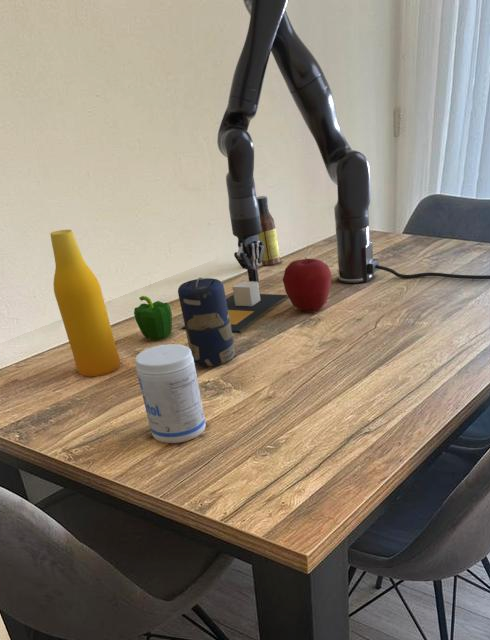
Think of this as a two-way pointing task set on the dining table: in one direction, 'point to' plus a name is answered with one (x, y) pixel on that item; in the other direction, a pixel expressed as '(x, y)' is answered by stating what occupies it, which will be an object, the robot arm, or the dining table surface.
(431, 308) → the dining table surface
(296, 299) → the apple
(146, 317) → the bell pepper
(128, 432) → the dining table surface
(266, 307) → the mat
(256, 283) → the matte off-white cube
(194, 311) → the canister
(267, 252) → the sauce bottle
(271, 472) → the dining table surface
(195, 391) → the supplement tub
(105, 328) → the beer bottle
